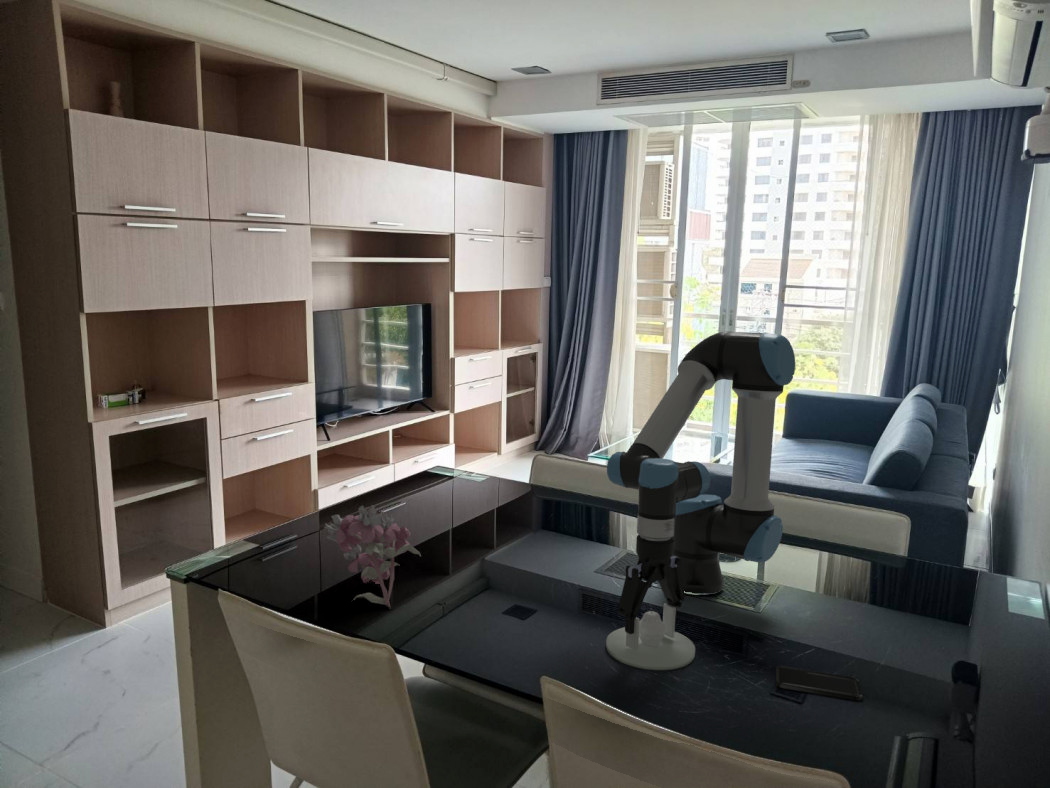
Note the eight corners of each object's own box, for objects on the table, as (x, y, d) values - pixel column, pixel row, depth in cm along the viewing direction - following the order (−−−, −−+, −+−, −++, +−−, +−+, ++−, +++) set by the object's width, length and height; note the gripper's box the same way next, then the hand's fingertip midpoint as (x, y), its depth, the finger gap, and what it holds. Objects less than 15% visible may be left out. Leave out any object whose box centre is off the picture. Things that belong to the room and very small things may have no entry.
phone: (863, 697, 138) (776, 682, 142) (862, 703, 138) (775, 688, 142) (858, 678, 145) (776, 664, 150) (858, 683, 145) (775, 669, 150)
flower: (452, 585, 185) (420, 488, 189) (400, 607, 165) (365, 498, 169) (388, 607, 193) (358, 513, 197) (330, 631, 173) (299, 525, 177)
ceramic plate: (588, 643, 158) (588, 638, 158) (649, 624, 169) (649, 619, 169) (651, 678, 144) (651, 672, 144) (713, 655, 155) (713, 649, 155)
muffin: (658, 653, 152) (660, 619, 151) (630, 645, 155) (631, 612, 155) (670, 642, 157) (671, 609, 157) (642, 635, 161) (643, 603, 160)
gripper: (628, 550, 144) (623, 662, 147) (706, 531, 158) (701, 635, 160) (601, 539, 150) (597, 647, 153) (679, 523, 163) (674, 622, 166)
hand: (650, 641), depth 156 cm, fingers open, 10 cm apart
